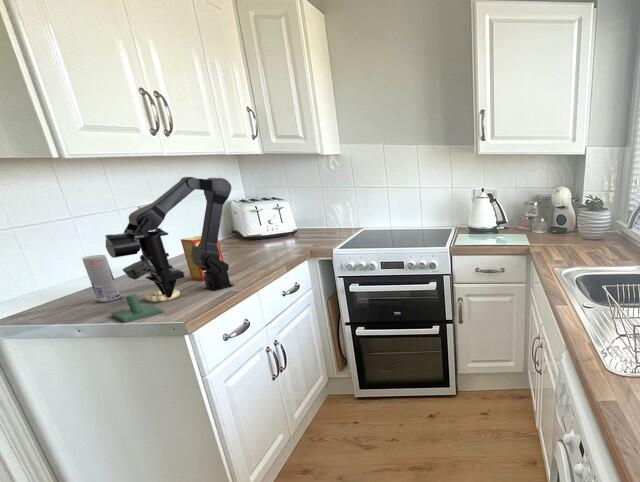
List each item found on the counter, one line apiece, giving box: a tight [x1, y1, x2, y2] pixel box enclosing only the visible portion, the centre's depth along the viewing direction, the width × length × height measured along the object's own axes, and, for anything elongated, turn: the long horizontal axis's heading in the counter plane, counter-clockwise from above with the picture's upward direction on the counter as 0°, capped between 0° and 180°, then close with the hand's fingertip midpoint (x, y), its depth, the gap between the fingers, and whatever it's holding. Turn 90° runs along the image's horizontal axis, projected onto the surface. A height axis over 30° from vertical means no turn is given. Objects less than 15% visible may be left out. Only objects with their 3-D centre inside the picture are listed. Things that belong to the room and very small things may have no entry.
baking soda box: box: [180, 235, 225, 282], centre depth 161 cm, size 10×6×16 cm
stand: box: [111, 293, 162, 323], centre depth 125 cm, size 9×9×6 cm
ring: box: [144, 288, 181, 303], centre depth 140 cm, size 9×9×2 cm
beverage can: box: [81, 254, 121, 303], centre depth 136 cm, size 6×6×15 cm
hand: (167, 296), depth 138 cm, fingers closed on ring, 2 cm apart
